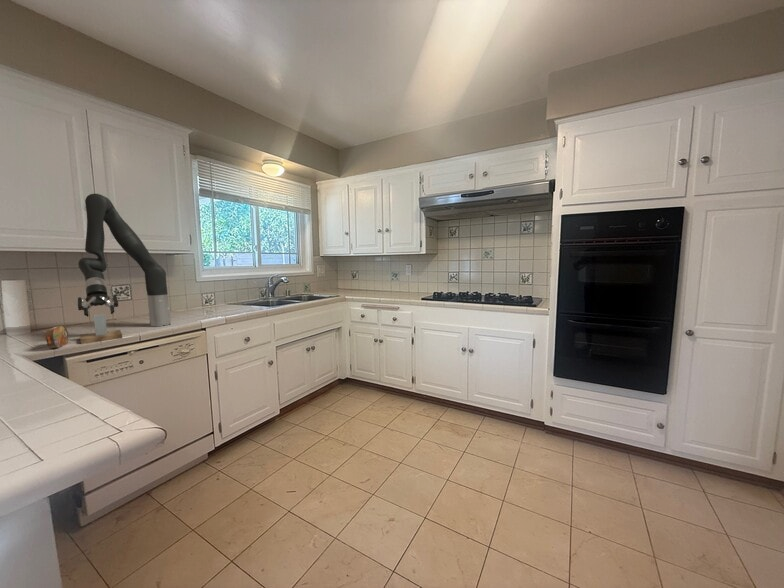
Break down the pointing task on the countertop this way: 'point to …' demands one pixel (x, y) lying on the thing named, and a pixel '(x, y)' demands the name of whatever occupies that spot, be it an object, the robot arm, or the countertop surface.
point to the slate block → (100, 324)
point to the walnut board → (100, 337)
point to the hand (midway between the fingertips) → (99, 314)
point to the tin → (56, 337)
